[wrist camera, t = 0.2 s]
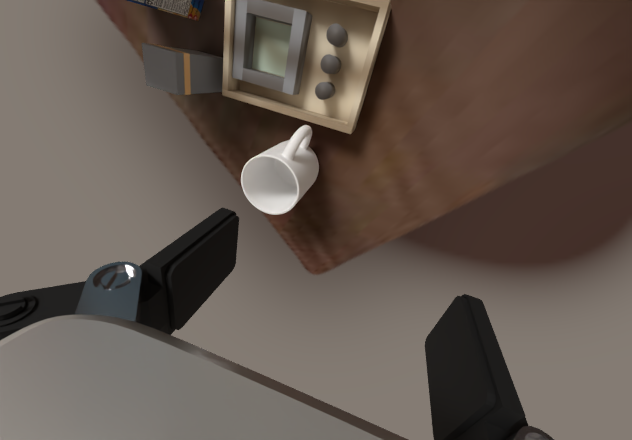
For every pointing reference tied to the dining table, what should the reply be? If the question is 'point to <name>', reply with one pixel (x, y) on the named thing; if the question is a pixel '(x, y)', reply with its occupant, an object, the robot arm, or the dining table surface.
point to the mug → (281, 174)
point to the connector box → (303, 56)
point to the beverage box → (176, 7)
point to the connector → (182, 70)
